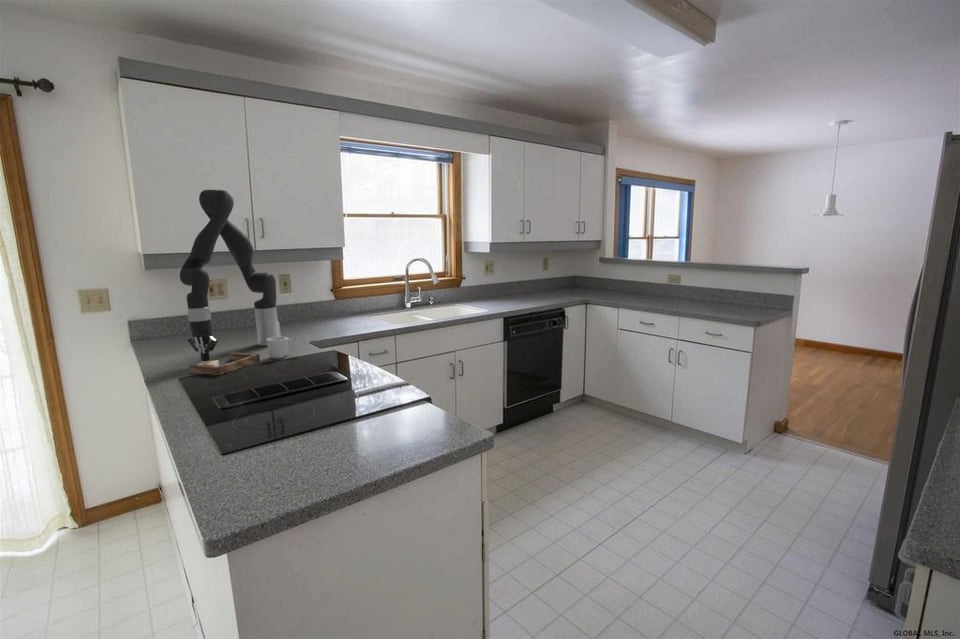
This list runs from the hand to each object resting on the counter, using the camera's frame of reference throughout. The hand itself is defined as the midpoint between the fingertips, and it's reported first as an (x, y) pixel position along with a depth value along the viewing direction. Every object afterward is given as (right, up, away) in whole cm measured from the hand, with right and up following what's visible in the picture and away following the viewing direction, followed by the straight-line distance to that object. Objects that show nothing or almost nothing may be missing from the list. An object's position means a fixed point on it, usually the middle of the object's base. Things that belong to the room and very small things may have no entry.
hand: (205, 361), depth 191 cm
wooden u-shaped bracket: (+10, -2, -3) cm, 10 cm away
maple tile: (+4, -3, -6) cm, 8 cm away
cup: (+25, +1, +12) cm, 28 cm away
